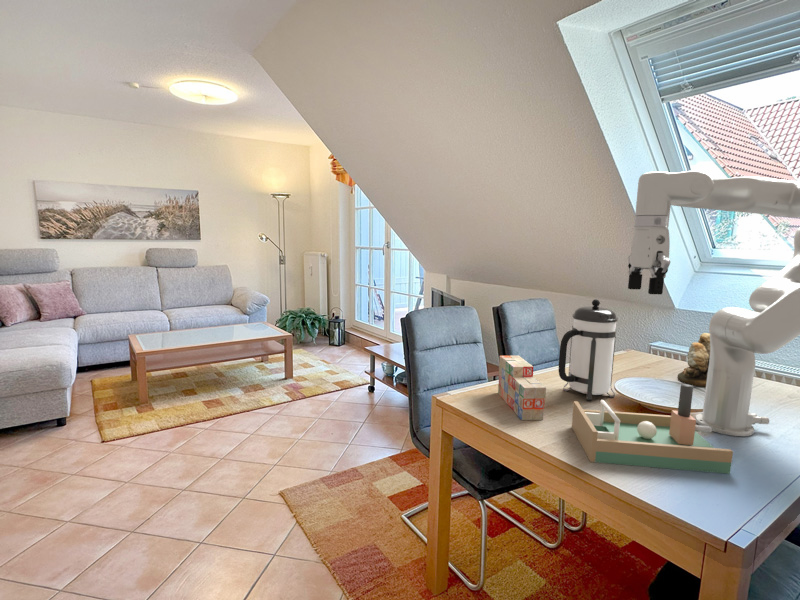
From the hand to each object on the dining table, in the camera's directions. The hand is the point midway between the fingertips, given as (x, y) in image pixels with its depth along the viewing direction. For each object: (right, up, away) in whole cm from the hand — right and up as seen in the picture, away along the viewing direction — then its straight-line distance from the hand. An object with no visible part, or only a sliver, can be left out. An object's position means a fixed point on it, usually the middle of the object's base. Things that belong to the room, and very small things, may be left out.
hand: (644, 291), depth 114 cm
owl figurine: (+42, -30, +42) cm, 67 cm away
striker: (+5, -35, -11) cm, 37 cm away
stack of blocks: (-28, -33, +16) cm, 46 cm away
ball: (-5, -33, -10) cm, 34 cm away
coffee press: (-4, -32, +26) cm, 41 cm away
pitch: (-5, -37, -9) cm, 38 cm away
